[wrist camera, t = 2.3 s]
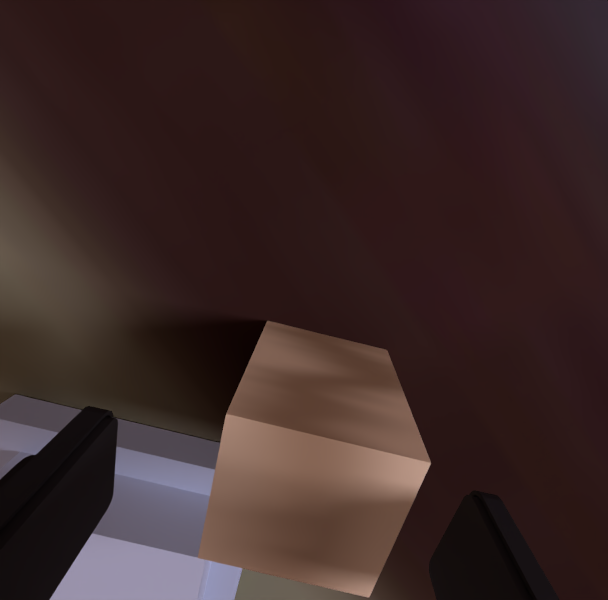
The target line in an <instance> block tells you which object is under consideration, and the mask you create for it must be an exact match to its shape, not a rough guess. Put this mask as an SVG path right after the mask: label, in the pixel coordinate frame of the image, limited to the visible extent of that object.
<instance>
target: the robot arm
mask: <svg viewBox="0 0 608 600" xmlns="http://www.w3.org/2000/svg"><path fill="white" fill-rule="evenodd" d="M117 431H118V420H117V419H116V418H113V413H112V411H109V410H104V409H99V408H95V407H90V406H88V407H85V408H84V409H83V410H82V411H81V412H80V413H79V414H78V415H76V416H75V417H74V418H73V419H72V420H71V421H70V422H69V423H68V424H67V425H66V426H65V427H64V428H63V429H62V430H61V431H60V432H59V433H58V434H57V435H56V436H55V437H54V438H53V439H52V440H51V441H50V442H49V443H47V444H46V445H45V446H44V447H43V448H42V449H41V450H40V451H39V452H38V453H37V454H36V455H30V456H27V457H25V458H24V459H22V460H21V461H20V462H18V463H17V464H16V465H15V466H14V467H13V468H12V469H11V470H10V471H9V472H8V473H6V474H5V475H4V476H3V477H2V478H1V479H0V600H50V598H51V597H52V595H53V594H54V592H55V590H56V589H57V587H58V586H59V584H60V583H61V581H62V579H63V578H64V576H65V575H66V573H67V572H68V570H69V569H70V567H71V565H72V564H73V562H74V561H75V559H76V558H77V556H78V555H79V553H80V551H81V550H82V548H83V547H84V545H85V544H86V542H87V541H88V539H89V537H90V536H91V534H92V533H93V531H94V530H95V528H96V527H97V525H98V523H99V522H100V520H101V519H102V517H103V516H104V514H105V513H106V511H107V509H108V507H109V505H110V503H111V501H112V498H113V493H114V477H115V462H116V447H117ZM429 573H430V578H431V581H432V585H433V588H434V592H435V595H436V599H437V600H559V598H558V596H557V595H556V593H555V591H554V589H553V588H552V586H551V584H550V583H549V581H548V579H547V577H546V576H545V574H544V572H543V571H542V569H541V567H540V565H539V564H538V562H537V560H536V559H535V557H534V555H533V553H532V552H531V550H530V548H529V547H528V545H527V543H526V541H525V540H524V538H523V536H522V535H521V533H520V531H519V529H518V528H517V526H516V524H515V523H514V521H513V519H512V517H511V516H510V514H509V512H508V510H507V509H506V507H505V505H504V504H503V502H502V500H501V499H500V498H499V497H498V496H496V495H493V494H488V493H484V492H479V491H472V492H471V493H470V494H469V495H466V496H465V497H464V498H463V500H462V502H461V504H460V506H459V508H458V509H457V511H456V513H455V515H454V517H453V519H452V521H451V522H450V524H449V526H448V528H447V530H446V532H445V534H444V535H443V537H442V539H441V541H440V543H439V545H438V547H437V548H436V550H435V552H434V554H433V556H432V558H431V560H430V564H429Z"/></svg>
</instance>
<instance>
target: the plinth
mask: <svg viewBox="0 0 608 600" xmlns="http://www.w3.org/2000/svg"><path fill="white" fill-rule="evenodd" d="M81 411H82V410H80V409H75V408H71V407H67V406H63V405H58V404H54V403H50V402H46V401H42V400H37V399H33V398H29V397H25V396H21V395H16V394H15V395H13V396H12V397H10V398H9V399H7V400H6V401H4V402H3V403H1V404H0V479H1V478H2V477H3V476H4V475H5V474H6V473H8V472H9V471H10V470H11V469H12V468H13V467H14V466H15V465H16V464H17V463H18V462H20V461H21V460H22V459H24V458H25V457H27V456H30V455H36V454H37V453H38V452H39V451H40V450H41V449H42V448H43V447H44V446H45V445H46V444H47V443H49V442H50V441H51V440H52V439H53V438H54V437H55V436H56V435H57V434H58V433H59V432H60V431H61V430H62V429H63V428H64V427H65V426H66V425H67V424H68V423H69V422H70V421H71V420H72V419H73V418H74V417H75V416H76V415H78V414H79V413H80V412H81ZM116 419H117V418H116ZM117 420H118V431H117V447H116V462H115V477H114V493H113V498H112V501H111V503H110V505H109V507H108V509H107V511H106V513H105V514H104V516H103V517H102V519H101V520H100V522H99V523H98V525H97V527H96V528H95V530H94V531H93V533H92V534H91V536H90V537H89V539H88V541H87V542H86V544H85V545H84V547H83V548H82V550H81V551H80V553H79V555H78V556H77V558H76V559H75V561H74V562H73V564H72V565H71V567H70V569H69V570H68V572H67V573H66V575H65V576H64V578H63V579H62V581H61V583H60V584H59V586H58V587H57V589H56V590H55V592H54V594H53V595H52V597H51V598H50V600H234V598H235V594H236V590H237V586H238V583H239V579H240V575H241V571H242V568H239V567H234V566H230V565H226V564H221V563H217V562H213V561H209V560H204V559H200V558H198V553H199V548H200V543H201V538H202V533H203V528H204V523H205V518H206V513H207V508H208V503H209V498H210V493H211V488H212V483H213V478H214V473H215V468H216V463H217V457H218V452H219V447H220V443H219V442H214V441H210V440H206V439H202V438H197V437H193V436H189V435H185V434H181V433H176V432H172V431H168V430H164V429H160V428H155V427H151V426H147V425H143V424H138V423H134V422H130V421H126V420H122V419H117Z"/></svg>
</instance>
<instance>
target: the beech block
mask: <svg viewBox="0 0 608 600" xmlns="http://www.w3.org/2000/svg"><path fill="white" fill-rule="evenodd" d="M430 464H431V462H430V459H429V457H428V454H427V451H426V449H425V446H424V444H423V441H422V439H421V436H420V433H419V431H418V428H417V426H416V423H415V421H414V418H413V416H412V413H411V410H410V408H409V405H408V403H407V400H406V398H405V395H404V392H403V390H402V387H401V385H400V382H399V380H398V377H397V375H396V372H395V369H394V367H393V364H392V362H391V359H390V357H389V354H388V351H387V350H385V349H381V348H376V347H372V346H368V345H364V344H360V343H356V342H352V341H348V340H344V339H340V338H336V337H332V336H328V335H324V334H319V333H315V332H311V331H307V330H303V329H299V328H295V327H291V326H287V325H283V324H279V323H275V322H271V321H267V322H266V325H265V327H264V329H263V331H262V334H261V336H260V338H259V340H258V343H257V345H256V347H255V350H254V352H253V354H252V356H251V359H250V361H249V363H248V365H247V368H246V370H245V372H244V374H243V377H242V379H241V381H240V384H239V386H238V388H237V390H236V393H235V395H234V397H233V399H232V402H231V404H230V406H229V408H228V411H227V413H226V417H225V422H224V427H223V432H222V437H221V442H220V447H219V452H218V457H217V463H216V468H215V473H214V478H213V483H212V488H211V493H210V498H209V503H208V508H207V513H206V518H205V523H204V528H203V533H202V538H201V543H200V548H199V553H198V558H200V559H204V560H209V561H213V562H217V563H221V564H226V565H230V566H234V567H239V568H243V569H247V570H252V571H256V572H260V573H265V574H269V575H273V576H278V577H282V578H286V579H291V580H295V581H299V582H303V583H308V584H312V585H316V586H321V587H325V588H329V589H334V590H338V591H342V592H347V593H351V594H355V595H360V596H364V597H368V598H369V597H370V594H371V592H372V590H373V588H374V586H375V584H376V581H377V579H378V577H379V575H380V573H381V571H382V568H383V566H384V564H385V562H386V560H387V558H388V555H389V553H390V551H391V549H392V547H393V545H394V542H395V540H396V538H397V536H398V534H399V531H400V529H401V527H402V525H403V523H404V521H405V518H406V516H407V514H408V512H409V510H410V508H411V505H412V503H413V501H414V499H415V497H416V495H417V492H418V490H419V488H420V486H421V484H422V482H423V479H424V477H425V475H426V473H427V471H428V469H429V466H430Z"/></svg>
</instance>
